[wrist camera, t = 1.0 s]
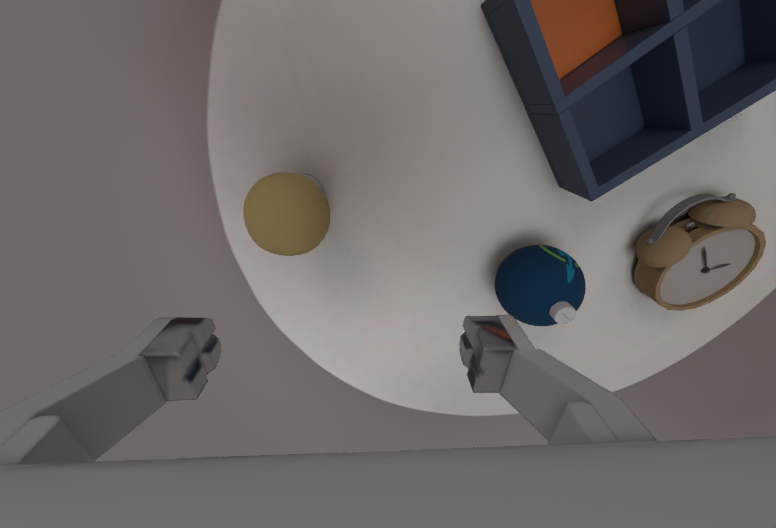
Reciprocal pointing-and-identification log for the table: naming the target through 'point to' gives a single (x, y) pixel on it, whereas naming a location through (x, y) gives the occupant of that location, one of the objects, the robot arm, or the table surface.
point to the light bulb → (287, 213)
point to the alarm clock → (698, 252)
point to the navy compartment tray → (631, 77)
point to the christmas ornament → (540, 285)
